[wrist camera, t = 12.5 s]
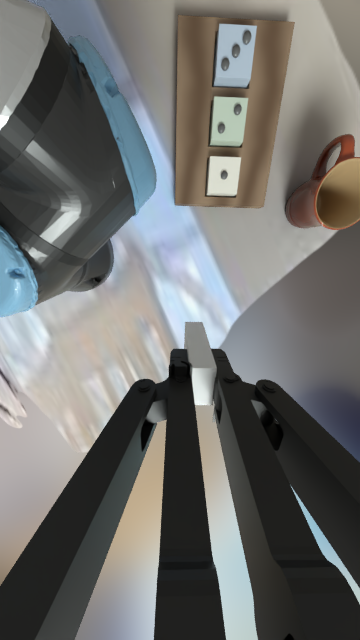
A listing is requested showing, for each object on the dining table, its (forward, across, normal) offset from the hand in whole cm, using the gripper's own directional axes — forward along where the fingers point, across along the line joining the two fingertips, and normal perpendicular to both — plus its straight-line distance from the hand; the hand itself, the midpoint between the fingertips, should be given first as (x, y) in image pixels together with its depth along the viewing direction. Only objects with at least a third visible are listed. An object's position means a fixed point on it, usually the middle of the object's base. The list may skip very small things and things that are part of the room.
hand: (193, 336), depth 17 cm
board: (+26, +6, +25) cm, 37 cm away
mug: (+27, +22, +16) cm, 38 cm away
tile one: (+26, +6, +18) cm, 32 cm away
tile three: (+26, +6, +32) cm, 42 cm away
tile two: (+26, +6, +25) cm, 37 cm away
